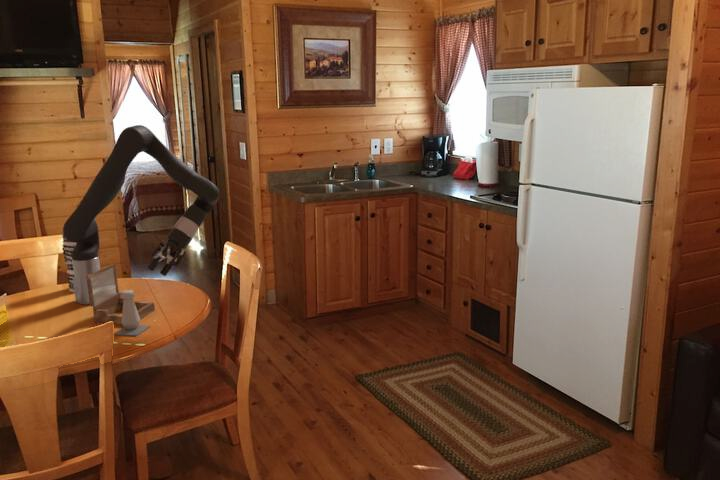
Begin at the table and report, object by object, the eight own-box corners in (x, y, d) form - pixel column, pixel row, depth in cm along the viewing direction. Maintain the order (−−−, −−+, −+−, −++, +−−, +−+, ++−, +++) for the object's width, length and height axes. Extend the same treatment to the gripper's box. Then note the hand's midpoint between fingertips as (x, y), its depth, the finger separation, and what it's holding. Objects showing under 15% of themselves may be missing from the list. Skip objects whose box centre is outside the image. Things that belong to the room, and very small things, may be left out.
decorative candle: (95, 289, 246) (86, 229, 240) (70, 293, 241) (61, 232, 235) (90, 283, 254) (82, 225, 247) (66, 287, 249) (57, 228, 242)
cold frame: (92, 322, 211) (86, 276, 207) (118, 307, 225) (112, 263, 221) (131, 325, 208) (125, 278, 203) (155, 310, 221) (150, 265, 217)
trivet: (114, 334, 200) (114, 333, 200) (129, 325, 208) (129, 324, 208) (136, 336, 198) (136, 335, 198) (150, 327, 206) (149, 325, 206)
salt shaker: (125, 324, 207) (120, 288, 204) (142, 323, 208) (138, 287, 205) (120, 331, 202) (115, 294, 198) (138, 330, 202) (133, 293, 199)
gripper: (164, 223, 213) (137, 262, 208) (186, 230, 203) (158, 270, 198) (179, 235, 218) (153, 273, 213) (201, 242, 209) (174, 281, 203)
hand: (156, 272), depth 206 cm, fingers open, 8 cm apart
